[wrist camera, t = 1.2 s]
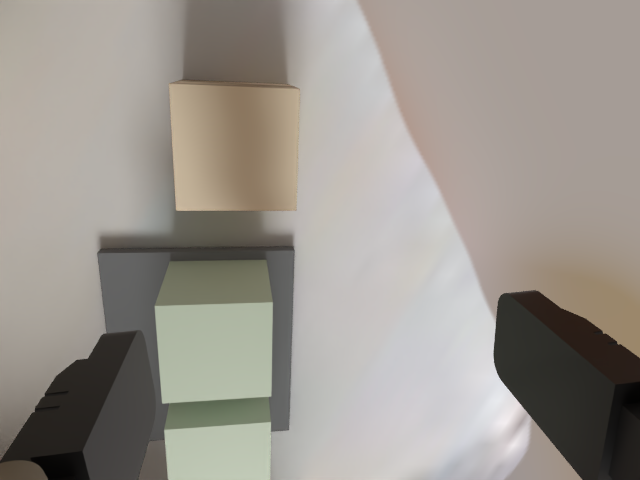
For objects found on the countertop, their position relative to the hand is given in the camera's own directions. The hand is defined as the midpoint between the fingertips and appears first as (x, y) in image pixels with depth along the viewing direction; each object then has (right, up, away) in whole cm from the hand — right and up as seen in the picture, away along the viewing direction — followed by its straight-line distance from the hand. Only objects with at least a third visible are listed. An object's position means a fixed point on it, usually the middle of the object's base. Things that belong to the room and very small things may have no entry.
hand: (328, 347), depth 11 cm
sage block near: (-6, -1, +15) cm, 16 cm away
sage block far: (-6, -7, +18) cm, 20 cm away
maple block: (-4, +8, +13) cm, 16 cm away
